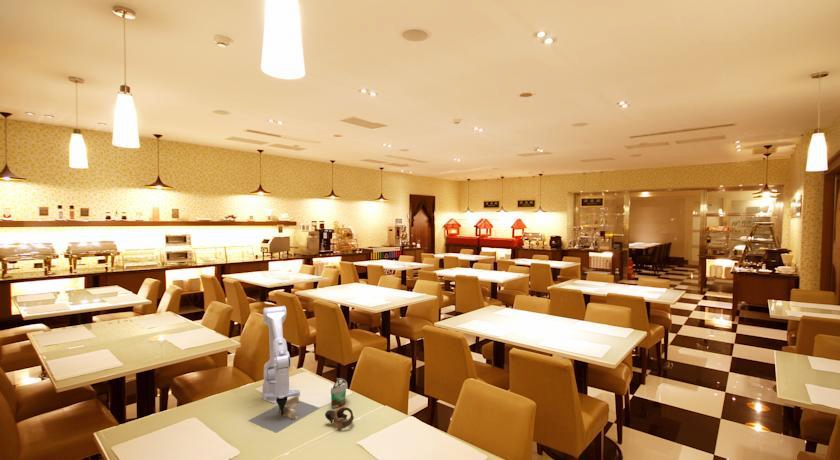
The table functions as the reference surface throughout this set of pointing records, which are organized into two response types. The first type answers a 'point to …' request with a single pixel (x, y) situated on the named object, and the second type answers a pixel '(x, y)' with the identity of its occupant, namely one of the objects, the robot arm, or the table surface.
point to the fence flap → (289, 412)
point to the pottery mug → (339, 414)
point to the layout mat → (282, 417)
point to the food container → (338, 393)
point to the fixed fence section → (291, 402)
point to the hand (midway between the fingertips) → (282, 413)
